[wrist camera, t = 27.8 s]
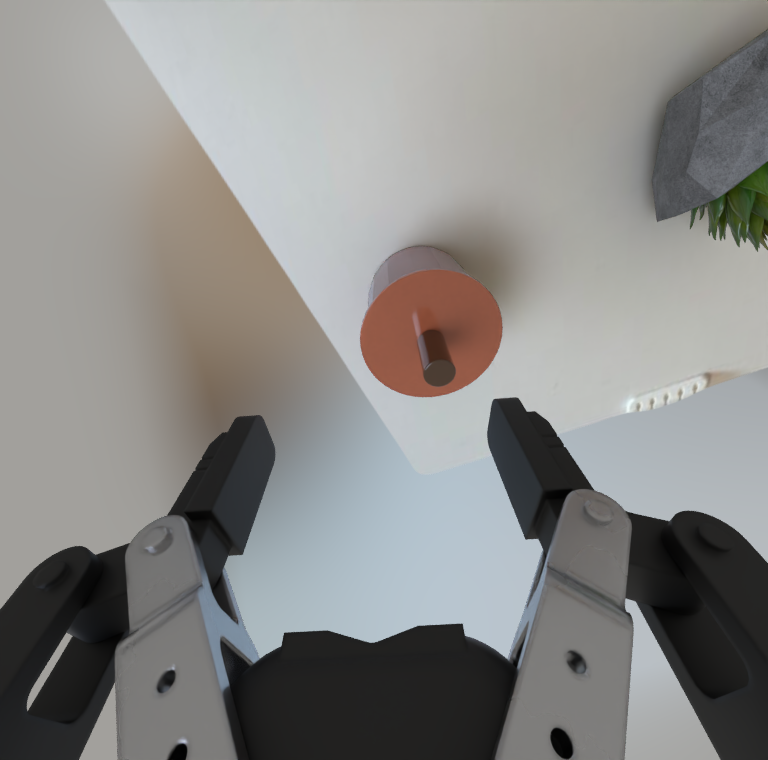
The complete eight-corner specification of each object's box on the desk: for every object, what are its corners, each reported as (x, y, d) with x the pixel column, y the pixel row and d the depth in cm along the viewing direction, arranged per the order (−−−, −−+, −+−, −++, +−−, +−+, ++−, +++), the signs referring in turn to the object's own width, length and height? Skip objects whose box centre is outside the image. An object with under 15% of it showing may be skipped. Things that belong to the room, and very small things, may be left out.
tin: (374, 344, 39) (373, 394, 30) (364, 251, 33) (358, 281, 24) (463, 337, 39) (487, 386, 30) (470, 241, 32) (502, 268, 24)
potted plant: (905, -64, 19) (921, 175, 23) (646, 105, 30) (685, 250, 34) (959, -113, 13) (968, 224, 17) (609, 122, 24) (662, 297, 27)
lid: (369, 394, 31) (366, 438, 26) (351, 272, 24) (343, 301, 19) (490, 386, 31) (511, 429, 26) (508, 258, 24) (542, 283, 19)
